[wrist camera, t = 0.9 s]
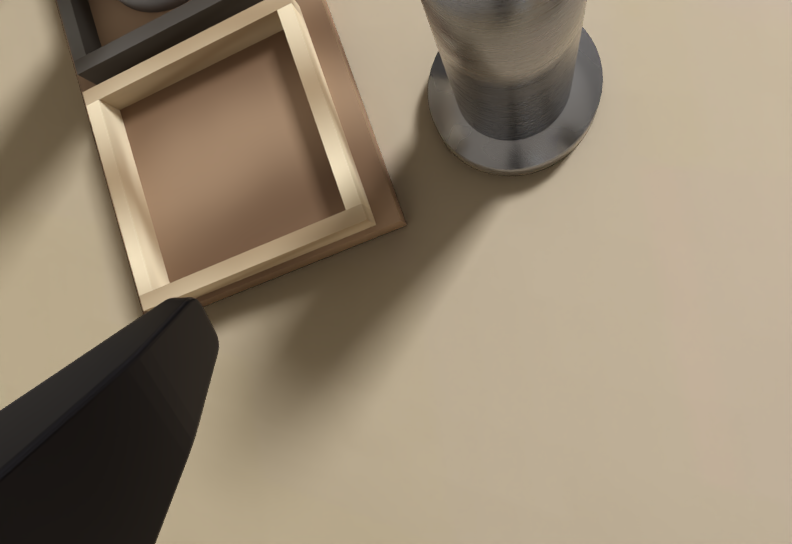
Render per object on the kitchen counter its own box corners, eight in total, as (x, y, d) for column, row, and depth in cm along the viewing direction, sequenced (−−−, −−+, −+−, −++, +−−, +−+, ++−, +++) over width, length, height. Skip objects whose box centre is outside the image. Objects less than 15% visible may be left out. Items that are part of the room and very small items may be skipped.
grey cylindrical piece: (524, 208, 21) (515, 56, 9) (400, 113, 22) (240, -135, 10) (635, 74, 20) (794, -292, 8) (501, -14, 21) (463, -444, 9)
